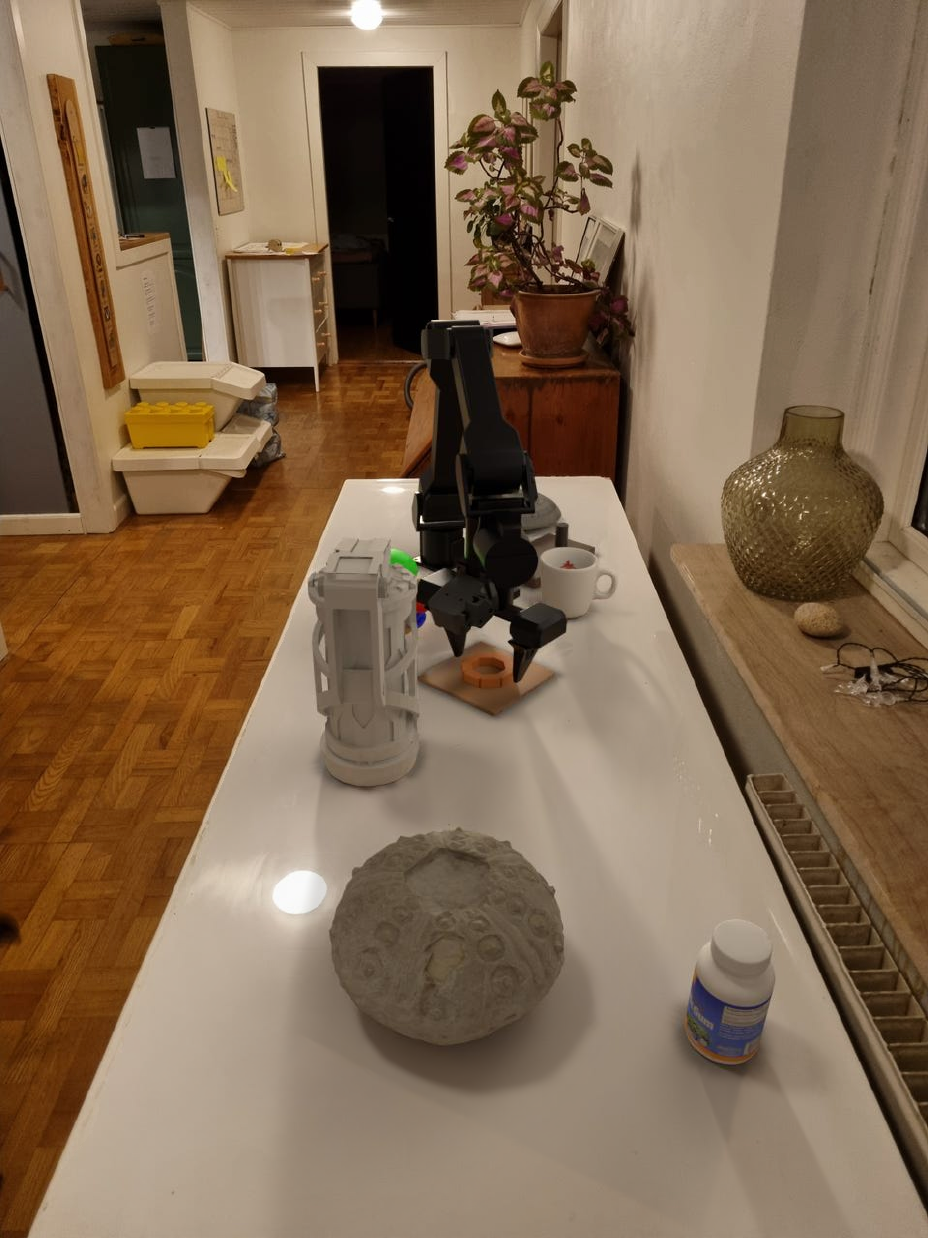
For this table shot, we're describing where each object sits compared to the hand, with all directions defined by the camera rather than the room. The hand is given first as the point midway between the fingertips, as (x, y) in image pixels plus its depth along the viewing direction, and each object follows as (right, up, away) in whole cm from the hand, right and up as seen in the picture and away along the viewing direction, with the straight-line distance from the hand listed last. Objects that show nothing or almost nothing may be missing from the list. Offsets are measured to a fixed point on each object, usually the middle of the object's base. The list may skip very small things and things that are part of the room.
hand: (487, 668), depth 112 cm
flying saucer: (+6, +23, +47) cm, 53 cm away
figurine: (-12, +3, +9) cm, 16 cm away
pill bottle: (+16, -25, -44) cm, 53 cm away
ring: (0, -1, 0) cm, 1 cm away
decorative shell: (-4, -22, -39) cm, 45 cm away
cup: (+13, +7, +17) cm, 22 cm away
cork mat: (0, -1, +1) cm, 1 cm away
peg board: (+9, +15, +31) cm, 35 cm away
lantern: (-13, -10, -15) cm, 22 cm away
